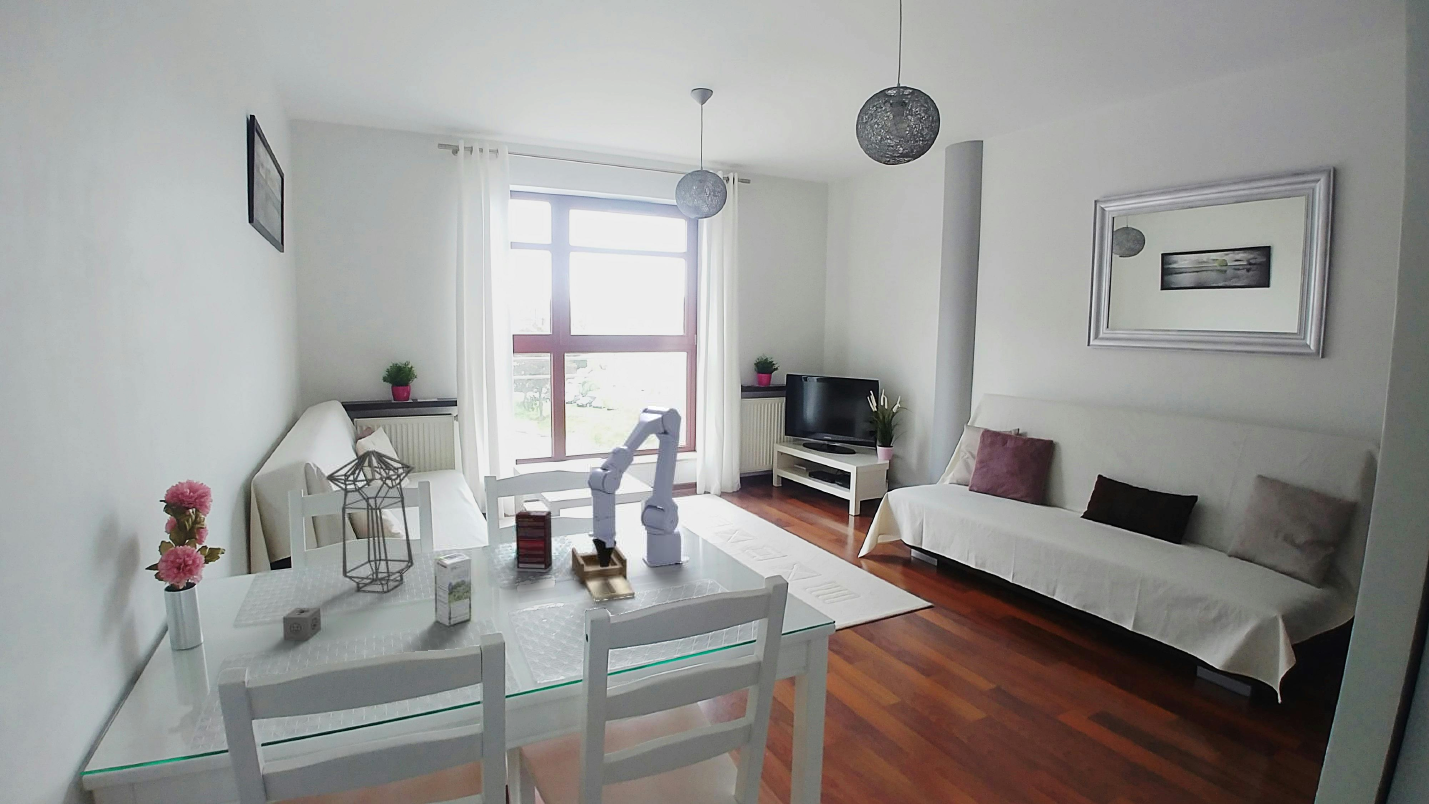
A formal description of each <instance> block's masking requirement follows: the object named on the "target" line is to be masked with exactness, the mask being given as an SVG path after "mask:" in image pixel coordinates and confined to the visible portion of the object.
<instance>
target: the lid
mask: <svg viewBox="0 0 1429 804" xmlns="http://www.w3.org/2000/svg"><path fill="white" fill-rule="evenodd" d="M584 584H585V586H586V588H587V590H588V592H589V591H590V592H589V593H590V595H591V597H592V596H593V597H592V599H593V598H594V599H595V601H596V600H604V599H614V598H620V597H627V596H634V595H636V594H635V593H636V592H635V591H634V589H633V588H632V586H631V585H630V583H629V582H628V581H627V579H626V578H624V577H623V576H622V575H617V576H609V577H601V578H592V579H585V583H584ZM594 599H593V600H594ZM614 600H615V599H614ZM595 601H594V602H595Z"/></svg>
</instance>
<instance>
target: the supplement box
mask: <svg viewBox="0 0 1429 804" xmlns="http://www.w3.org/2000/svg"><path fill="white" fill-rule="evenodd" d="M515 525H516V531H515V538H516V540H515V541H516V542H515V543H516V544H515V545H516V547H515V548H517V556H516V571H517V572H525V573H527V572H528V573H529V572H530V573H532V572H533V573H548V571H550V570H551V569H552V568H553V550H552V548H553V545H552V543H553V541H552V537H553V536H552V511H551V510H550V511H549V510H523V509H522V510H520V511H519V512H516V513H515Z"/></svg>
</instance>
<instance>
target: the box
mask: <svg viewBox="0 0 1429 804" xmlns="http://www.w3.org/2000/svg"><path fill="white" fill-rule="evenodd" d="M627 563H628V559H627V557H625V555H624V554H623V553H622V552H621V550H620V549H619V548H618V546H617V545H616V546H615V547H614V549H613V552H612V555H611V560H610V564H609V567H603V568H601V567H600V564H599V560H598V555H597V552H589V553H578V551H577V549H576V547H571V567H572V569H573V571H574V573H575V575H576V576H577V578H578V580H579V582H580V584H581V585H583V584H585V579H592V578H601V577H609V576H617V575H622V576H623V577H624V578H625V579H627V578H628V577H627V576H628V575H627V574H628V572H627V571H628V564H627Z"/></svg>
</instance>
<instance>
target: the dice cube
mask: <svg viewBox="0 0 1429 804" xmlns="http://www.w3.org/2000/svg"><path fill="white" fill-rule="evenodd" d="M321 621H322V620H321V607H295V608H294V609H292V610H291V611H290V612H288V613H287V614H285V615H284V616H283V617H282V626H283V640H284V641H309V640H310V639H312V638H313V637H314V636H315V635H316V634H318V633H319V632H320V631H321V630H322V622H321Z"/></svg>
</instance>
